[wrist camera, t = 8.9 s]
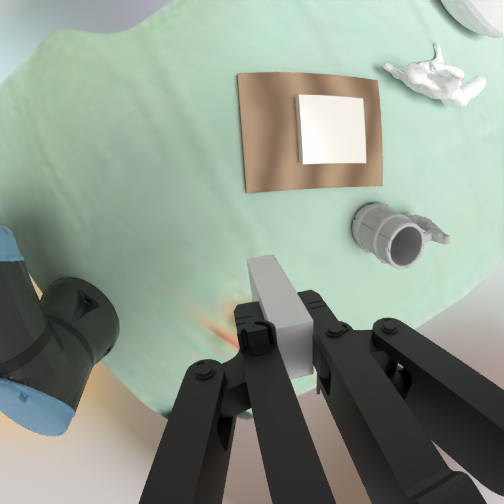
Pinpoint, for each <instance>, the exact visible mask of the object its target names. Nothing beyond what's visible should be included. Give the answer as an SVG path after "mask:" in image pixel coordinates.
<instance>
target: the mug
mask: <svg viewBox="0 0 504 504" xmlns="http://www.w3.org/2000/svg"><path fill="white" fill-rule="evenodd" d="M355 218H356V219H354V220H353V224H352V232H353V236H354V238H355V240H356V242H357V244H358V245H359V246H360V247H361V248H362V249H363V250H365V251H366V252H370V253H373V254H375V256H376V257H377V258H378V259H379V260H381V262H383V263H386V264H390V265H391V266H393V267H394V268H396V269H404V268H409V267H410V266H412V265H413V264H414V263H415V262H416V261H417V260H418V259H419V257H420V256H421V253H420V252H422V251H423V249H424V243H425V242H428V241H431V240H432V241H435V242H438V243H441V244H450V236H449V235H447V234H445V233H444V232H442V230H441V229H439V228H438V227H437V225H435V224H434V223H433V222H432V221H431V220H430V219H428V218H425V217H422V216H419V215H414V216H413V215H407V216H406V215H404V214H402V213H395V212H394V211H393V210H392V209H391V208H390V207H389V206H388V205H384V204H381V203H374V204H371V205H366V206H364V207H362V208H361V209H360V210H359V211H358V212H357V214H356V216H355ZM422 229H423V230H425V231H426V232H423V231H422Z"/></svg>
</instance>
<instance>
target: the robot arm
mask: <svg viewBox="0 0 504 504" xmlns="http://www.w3.org/2000/svg"><path fill="white" fill-rule="evenodd" d="M24 260H25V259H24V257H23V256H22V255H21V253H20V250H19V248H18V245H17V243H16V240H15V237H14V234H13V233H12V231H11V230H10V229H9V228H7V227H5V226H0V411H2V412H3V413H4V414H5V415H6V416H8V417H9V418H10V419H12V420H13V421H14V422H16V423H18V424H20V425H21V426H23V427H25V428H26V429H28V430H31V431H33V432H36V433H38V434H42V435H46V436H59V435H62V434H63V433H64V432H66V430H67V429H68V426H69V424H70V422H71V420H72V418H73V417H74V416H75V412H76V409H77V407H78V404H79V401H80V398H81V396H82V393H83V390H84V388H85V385H86V383H87V380H88V378H89V375H90V373H91V370H92V368H93V366H94V365H95V364H96V363H98V362H99V361H100V360H101V359H102V358H103V357H104V356H106V355H107V354H108V353H109V352H110V351H111V350H112V348H113V347H114V345H115V342H116V340H117V338H118V335H119V321H118V317H117V314H116V312H115V310H114V308H113V306H112V304H111V303H110V302H109V300H108V299H107V298H106V297H105V296H104V294H103V293H101V292H100V291H99V290H98V289H97V288H95V287H94V286H93V285H91V284H89V283H87V282H85V281H83V280H80V279H76V278H62V279H59V280H56V281H55V282H53V283H52V284H51V285H50V286H49V287H48V288H47V289H46V290H45V292H44V293H43V295H42V297H41V300H39V298H38V296H37V294H36V291H35V289H34V286H33V284H32V281H31V279H30V276H29V274H28V271H27V268H26V265H25V263H24ZM247 264H248V271H249V278H250V285H251V292H252V298H253V302H250V303H245V304H239V305H237V306H236V308H235V310H234V316H235V322H236V327H237V336H238V341H239V346H240V349H239V352H238V353H237V355H236V356H235V357H234V358H232V359H231V360H229V361H227V362H225V363H222V364H221V363H220V362H218V361H216V360H211V359H206V360H200V361H198V362H195V363H194V364H192V365H191V366H189V368H188V370H187V371H186V373H185V376H184V379H183V381H182V384H181V387H180V389H179V392H178V395H177V398H176V400H175V403H174V406H173V408H172V411H171V414H170V416H169V419H168V422H167V425H166V427H165V430H164V433H163V436H162V439H161V441H160V444H159V447H158V450H157V453H156V455H155V458H154V461H153V464H152V466H151V470H150V472H149V475H148V478H147V481H146V484H145V487H144V489H143V492H142V495H141V498H140V501H139V504H222V499H223V494H224V488H225V482H226V476H227V471H228V465H229V459H230V453H231V447H232V442H233V436H234V430H235V423H236V418H237V414H239V413H241V412H243V411H246V410H248V409H250V408H252V413H253V418H254V422H255V427H256V432H257V437H258V441H259V446H260V450H261V455H262V460H263V464H264V469H265V472H266V477H267V482H268V486H269V490H270V495H271V499H272V503H273V504H336V502H335V499H334V497H333V494H332V492H331V489H330V486H329V484H328V481H327V478H326V476H325V473H324V470H323V468H322V465H321V462H320V459H319V457H318V454H317V451H316V449H315V446H314V443H313V441H312V438H311V435H310V433H309V430H308V427H307V425H306V422H305V419H304V416H303V414H302V411H301V408H300V405H299V403H298V400H297V397H296V395H295V392H294V389H293V386H292V384H291V381H290V379H294V378H298V377H302V376H306V375H310V374H313V365H314V367H315V369H316V371H317V394H320V389H321V391H322V394H323V396H324V398H325V400H326V402H327V405H328V407H329V409H330V411H331V413H332V416H333V418H334V420H335V422H336V425H337V427H338V429H339V431H340V433H341V436H342V438H343V440H344V442H345V445H346V447H347V449H348V451H349V453H350V455H351V458H352V460H353V462H354V465H355V467H356V469H357V471H358V474H359V476H360V478H361V480H362V483H363V485H364V487H365V489H366V491H367V494H368V496H369V498H370V500H371V503H372V504H487V503H486V501H485V500H484V498H483V497H482V495H481V493H480V492H479V490H478V488H477V487H476V485H475V484H474V482H473V481H472V479H471V478H470V477H469V476H468V475H467V474H465V473H464V472H460V471H453V470H451V469H450V468H449V467H448V466H447V464H446V463H445V461H444V460H443V458H442V456H441V455H440V453H439V452H438V450H437V449H436V447H435V446H434V444H433V443H432V441H433V442H434V443H435V444H437V445H438V446H439V447H440V448H441V449H442V450H443V451H444V452H446V453H447V454H448V455H449V456H450V457H451V458H452V459H454V460H455V461H456V462H457V463H458V464H459V465H460V466H462V467H463V468H464V469H465V470H466V471H467V472H468V473H470V474H471V475H472V476H473V477H474V478H476V479H477V480H478V481H479V482H480V483H481V484H483V485H484V486H485V487H487V488H488V489H490V490H491V491H493V492H495V493H497V494H499V495H501V496H504V390H503V389H501V388H500V387H498V386H497V385H496V384H494V383H493V382H491V381H490V380H488V379H487V378H486V377H484V376H483V375H481V374H479V373H478V372H477V371H475V370H474V369H472V368H471V367H469V366H468V365H466V364H465V363H464V362H462V361H461V360H459V359H457V358H456V357H454V356H453V355H452V354H450V353H449V352H447V351H446V350H444V349H442V348H441V347H440V346H438V345H436V344H435V343H433V342H432V341H431V340H429V339H427V338H426V337H424V336H423V335H421V334H419V333H418V332H416V331H415V330H414V329H412V328H411V327H409V326H408V325H406V324H405V323H403V322H401V321H400V320H397V319H394V318H382V319H379V320H377V321H376V322H375V323H374V325H373V329H372V330H353V329H352V327H351V326H350V325H348V324H347V323H344V322H342V321H338V320H337V318H336V317H335V315H334V314H333V313H332V311H331V310H330V308H329V307H328V306H327V304H326V303H325V302H324V301H323V299H322V297H321V296H320V295H319V294H318V293H316V292H314V291H313V290H308V291H303V292H298V293H297V292H296V291H295V289H294V287H293V286H292V284H291V282H290V281H289V279H288V277H287V276H286V274H285V272H284V271H283V269H282V267H281V266H280V264H279V262H278V261H277V259H276V257H275V256H274V254H272V255H267V256H261V257H255V258H249V259H247ZM398 363H399V364H401V365H402V366H403V368H401V367H400V366H398ZM431 440H432V441H431Z"/></svg>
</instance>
